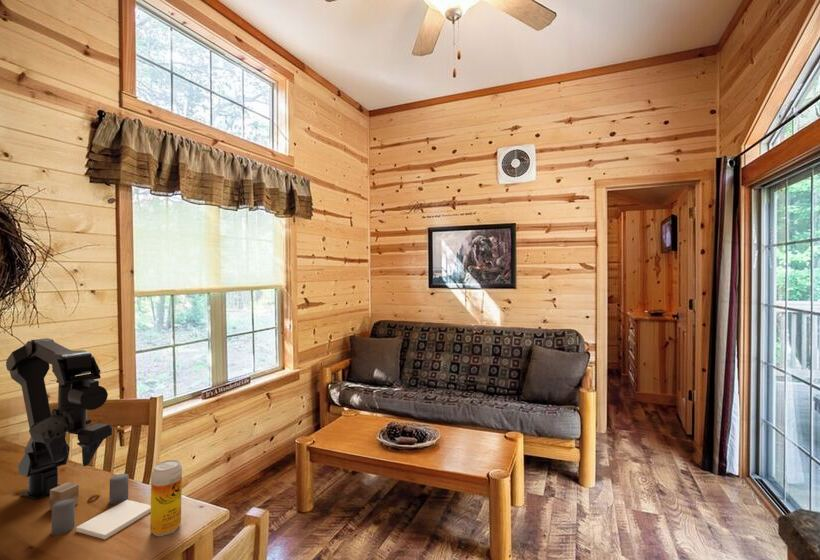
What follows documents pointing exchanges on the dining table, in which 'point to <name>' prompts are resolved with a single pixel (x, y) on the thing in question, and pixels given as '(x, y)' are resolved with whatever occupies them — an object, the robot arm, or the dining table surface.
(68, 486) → the walnut block
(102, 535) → the ceramic tile
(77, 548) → the dining table surface
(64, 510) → the post
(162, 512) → the yellow canister
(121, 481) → the post
